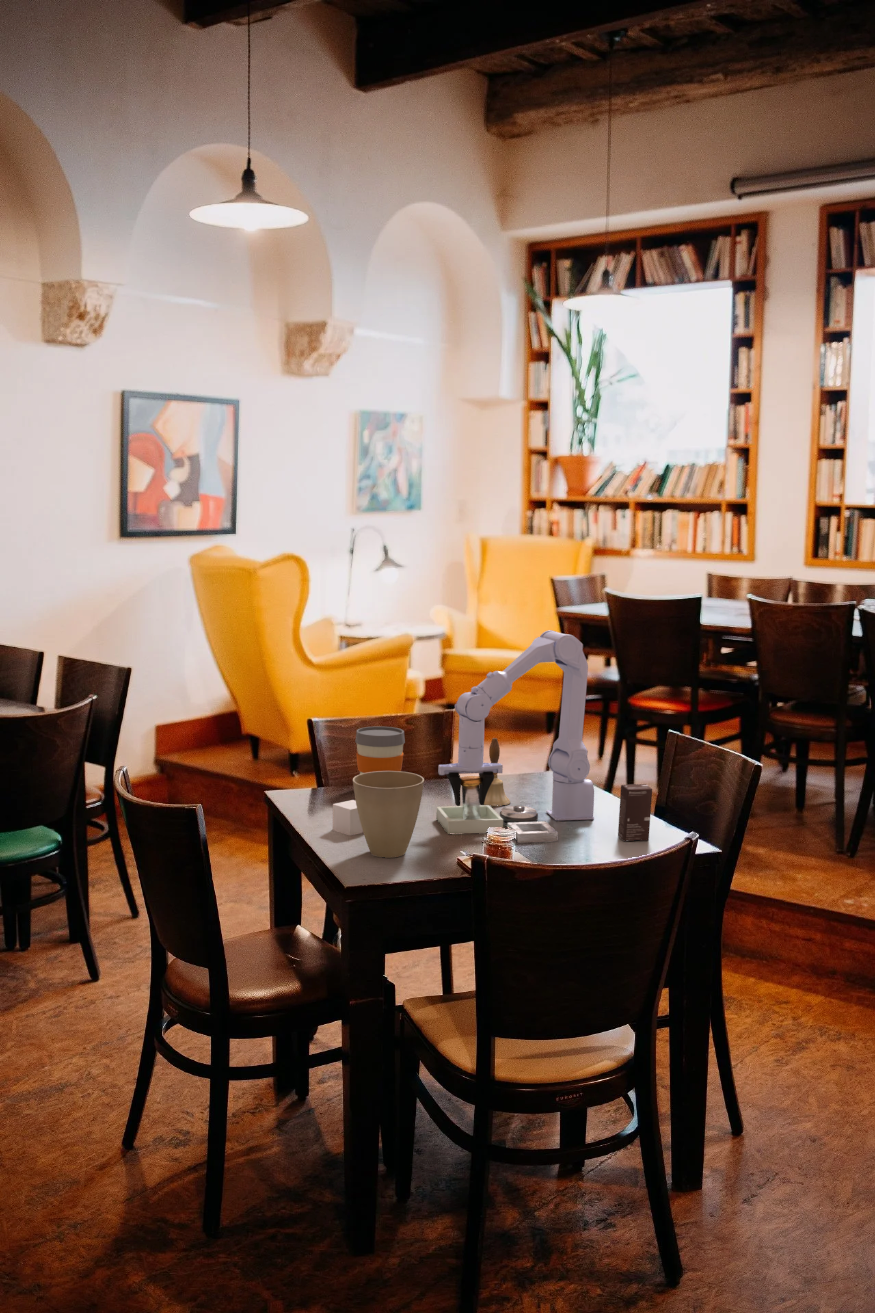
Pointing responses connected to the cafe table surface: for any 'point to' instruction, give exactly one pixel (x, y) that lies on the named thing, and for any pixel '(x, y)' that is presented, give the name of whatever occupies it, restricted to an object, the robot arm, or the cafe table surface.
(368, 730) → the reusable coffee cup
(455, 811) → the parts tray
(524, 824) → the tensioner bracket
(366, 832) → the plant pot
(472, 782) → the jar with gold lid
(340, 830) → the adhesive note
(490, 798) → the hand bell
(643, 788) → the box
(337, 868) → the cafe table surface
